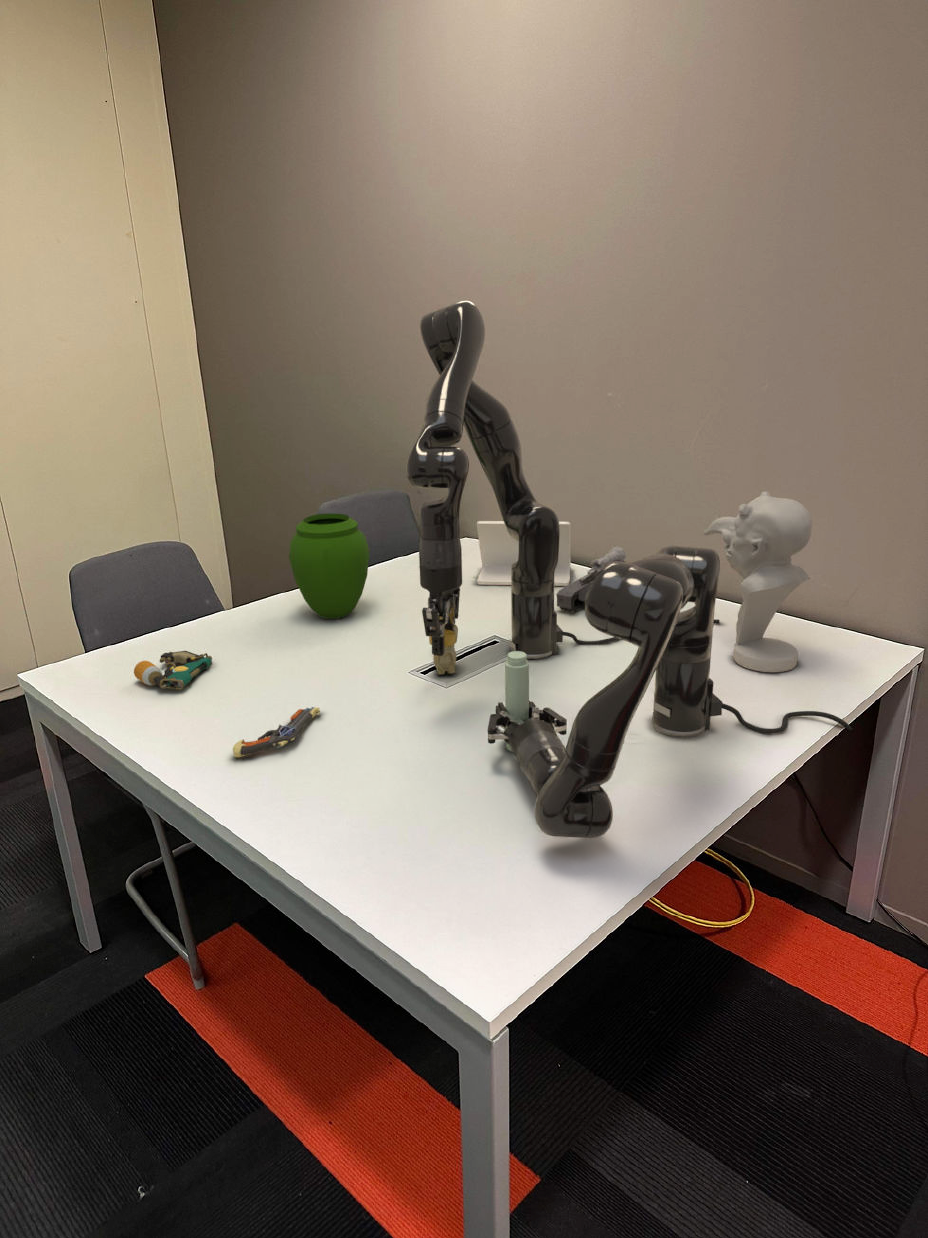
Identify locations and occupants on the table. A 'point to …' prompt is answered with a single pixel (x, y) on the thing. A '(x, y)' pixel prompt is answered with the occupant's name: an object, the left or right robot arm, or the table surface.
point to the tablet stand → (514, 554)
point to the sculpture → (447, 658)
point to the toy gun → (277, 734)
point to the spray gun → (172, 669)
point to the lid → (447, 638)
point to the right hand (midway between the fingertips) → (513, 705)
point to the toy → (586, 582)
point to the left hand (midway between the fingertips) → (443, 649)
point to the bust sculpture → (764, 574)
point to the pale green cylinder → (517, 686)
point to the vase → (329, 563)
